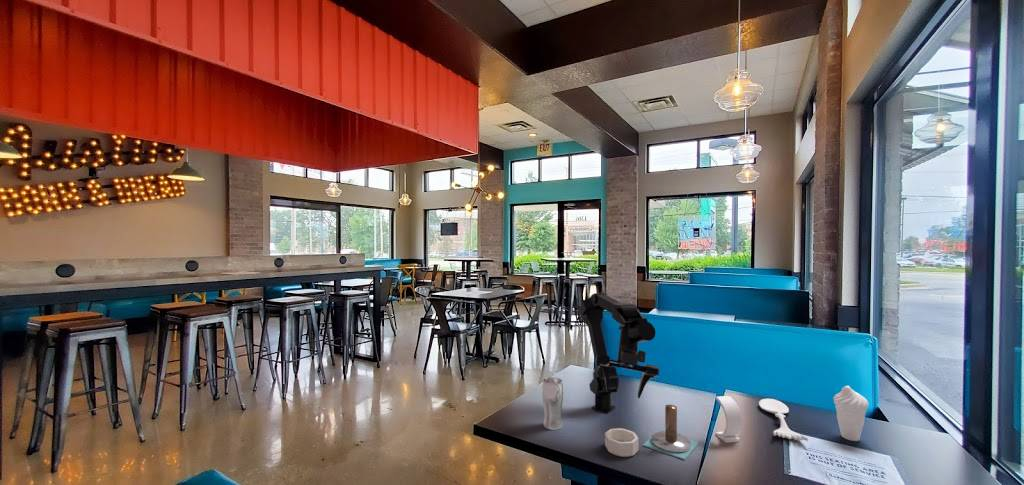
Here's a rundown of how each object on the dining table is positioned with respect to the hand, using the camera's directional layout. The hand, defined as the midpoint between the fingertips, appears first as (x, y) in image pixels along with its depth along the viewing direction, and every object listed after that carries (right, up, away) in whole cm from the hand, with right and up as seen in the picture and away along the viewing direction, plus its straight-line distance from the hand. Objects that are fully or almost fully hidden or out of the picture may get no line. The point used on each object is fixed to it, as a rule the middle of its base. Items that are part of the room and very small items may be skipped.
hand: (623, 394), depth 124 cm
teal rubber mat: (+14, -14, -2) cm, 20 cm away
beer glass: (-20, -14, +11) cm, 27 cm away
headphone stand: (+33, -14, +1) cm, 36 cm away
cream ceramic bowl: (-2, -14, -4) cm, 15 cm away
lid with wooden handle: (+14, -14, -2) cm, 20 cm away
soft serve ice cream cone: (+70, -14, +2) cm, 72 cm away
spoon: (+55, -14, +12) cm, 58 cm away
